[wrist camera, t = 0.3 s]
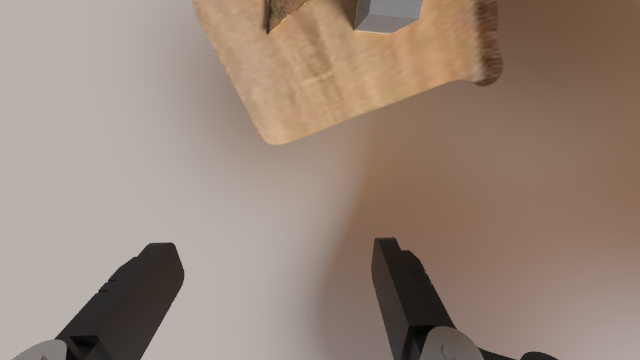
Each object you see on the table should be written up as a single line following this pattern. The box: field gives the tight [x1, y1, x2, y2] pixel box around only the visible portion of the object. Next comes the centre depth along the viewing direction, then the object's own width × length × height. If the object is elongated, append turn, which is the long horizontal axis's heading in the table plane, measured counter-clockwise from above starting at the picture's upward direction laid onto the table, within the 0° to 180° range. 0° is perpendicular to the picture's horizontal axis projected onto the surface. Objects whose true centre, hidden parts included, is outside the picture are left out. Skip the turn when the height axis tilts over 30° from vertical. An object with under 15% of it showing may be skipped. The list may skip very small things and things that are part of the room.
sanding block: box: [354, 0, 423, 34], centre depth 25 cm, size 5×5×10 cm
